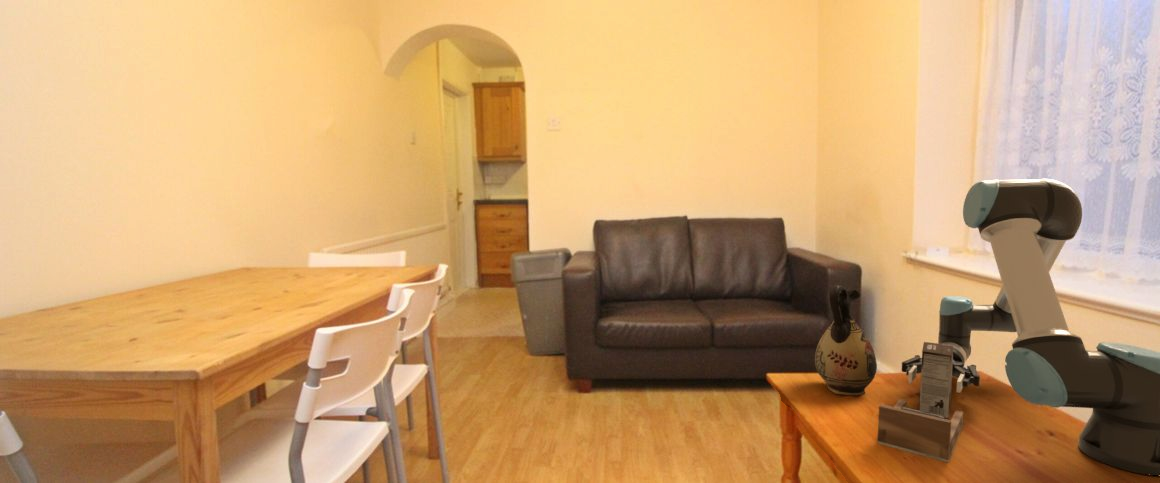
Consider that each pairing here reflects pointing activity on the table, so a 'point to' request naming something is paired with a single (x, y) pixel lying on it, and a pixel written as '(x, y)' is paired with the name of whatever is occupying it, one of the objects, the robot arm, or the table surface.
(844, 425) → the table surface
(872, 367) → the ceramic jug
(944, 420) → the wooden tray
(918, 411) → the pusher
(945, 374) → the coffee box
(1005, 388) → the table surface
